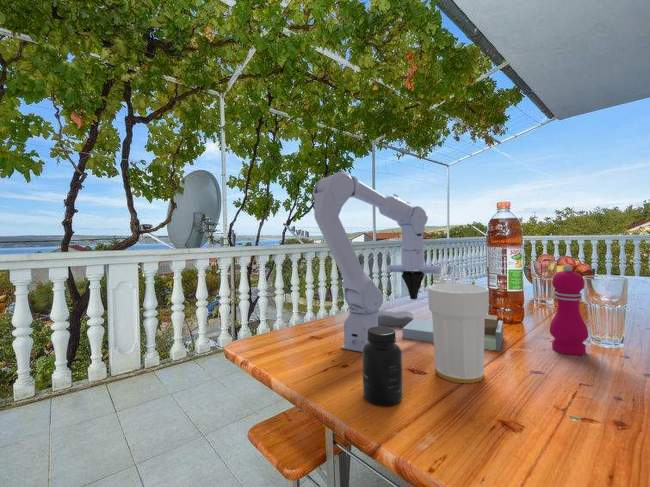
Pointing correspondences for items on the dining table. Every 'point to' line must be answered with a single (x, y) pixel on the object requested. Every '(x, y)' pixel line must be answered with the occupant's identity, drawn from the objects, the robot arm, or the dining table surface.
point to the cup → (459, 330)
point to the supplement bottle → (382, 367)
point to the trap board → (425, 332)
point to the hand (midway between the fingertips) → (413, 298)
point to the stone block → (394, 318)
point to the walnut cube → (490, 325)
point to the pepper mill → (568, 314)
